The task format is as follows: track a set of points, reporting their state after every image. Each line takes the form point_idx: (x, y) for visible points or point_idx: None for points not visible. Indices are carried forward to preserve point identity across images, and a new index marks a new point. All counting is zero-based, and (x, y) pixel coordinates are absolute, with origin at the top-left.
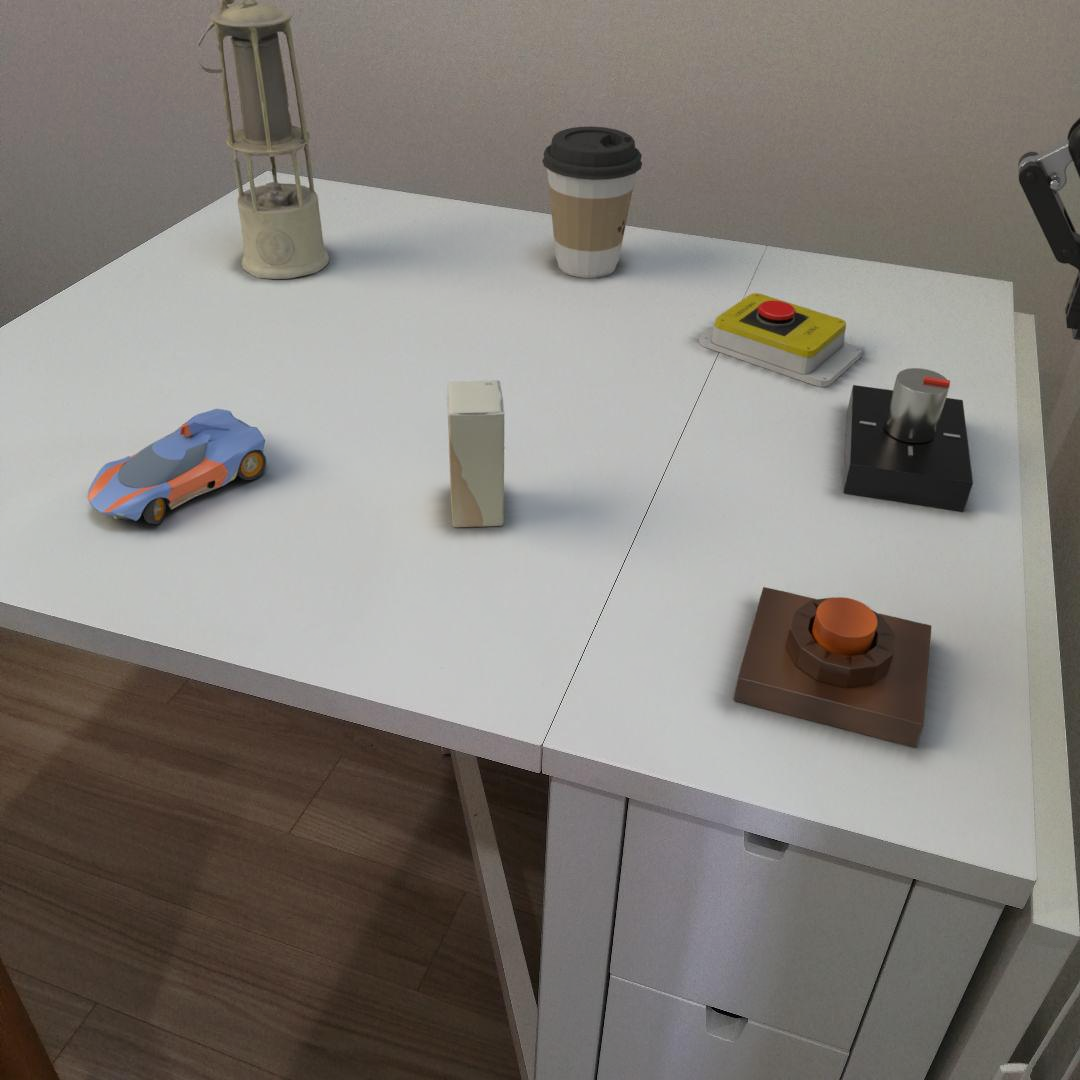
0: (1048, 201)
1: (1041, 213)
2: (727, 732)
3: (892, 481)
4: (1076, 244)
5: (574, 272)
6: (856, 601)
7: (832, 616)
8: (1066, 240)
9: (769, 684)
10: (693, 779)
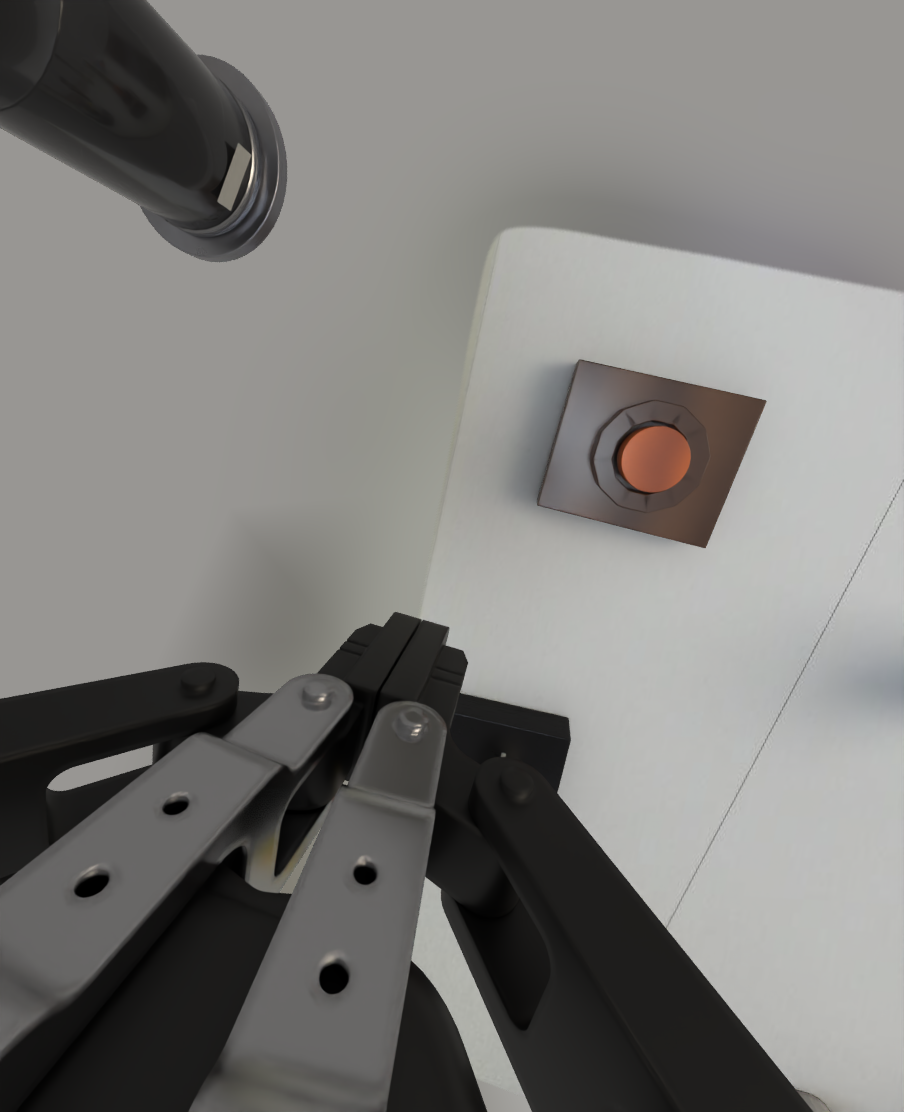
0: (684, 1058)
1: (683, 978)
2: (767, 356)
3: (525, 721)
4: (490, 809)
5: (815, 1102)
6: (638, 486)
7: (672, 458)
8: (530, 829)
9: (732, 394)
10: (819, 282)
